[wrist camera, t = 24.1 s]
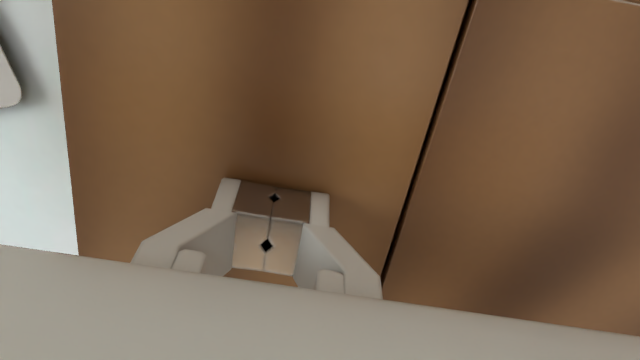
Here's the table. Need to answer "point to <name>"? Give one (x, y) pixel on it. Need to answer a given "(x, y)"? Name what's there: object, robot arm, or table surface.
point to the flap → (246, 109)
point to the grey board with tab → (8, 83)
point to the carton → (530, 170)
